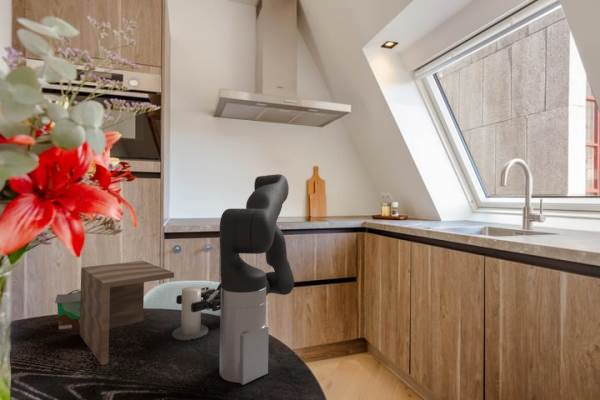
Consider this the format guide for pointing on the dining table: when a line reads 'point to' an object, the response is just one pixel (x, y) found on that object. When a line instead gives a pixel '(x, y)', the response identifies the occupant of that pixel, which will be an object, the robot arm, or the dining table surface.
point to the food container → (69, 311)
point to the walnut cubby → (113, 300)
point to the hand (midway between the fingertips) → (184, 303)
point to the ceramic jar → (189, 318)
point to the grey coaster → (180, 336)
